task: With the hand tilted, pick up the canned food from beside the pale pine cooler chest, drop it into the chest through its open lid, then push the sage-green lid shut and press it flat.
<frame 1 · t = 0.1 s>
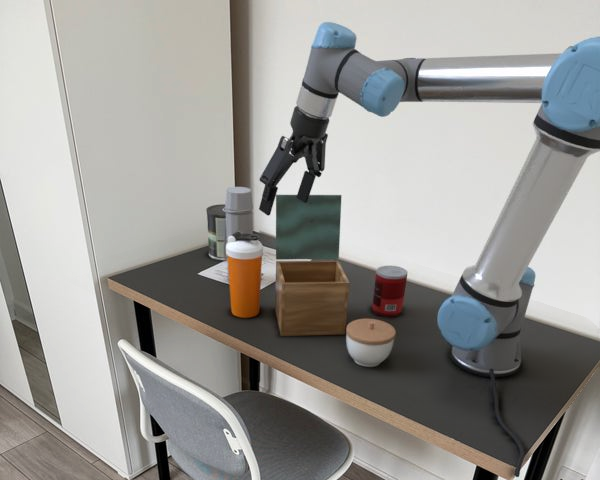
hand: (283, 205, 132), 28 cm above the table, tool tilted 20°, fingers open, 13 cm apart
shaker bottle: (245, 312, 150), on the table
canned food: (386, 311, 154), on the table
trinket box: (367, 360, 132), on the table
chest lid: (308, 227, 141), point 21 cm above the table, hinge at 100.0°
chest: (308, 322, 146), on the table
water bottle: (237, 280, 167), on the table
coffee can: (225, 255, 183), on the table
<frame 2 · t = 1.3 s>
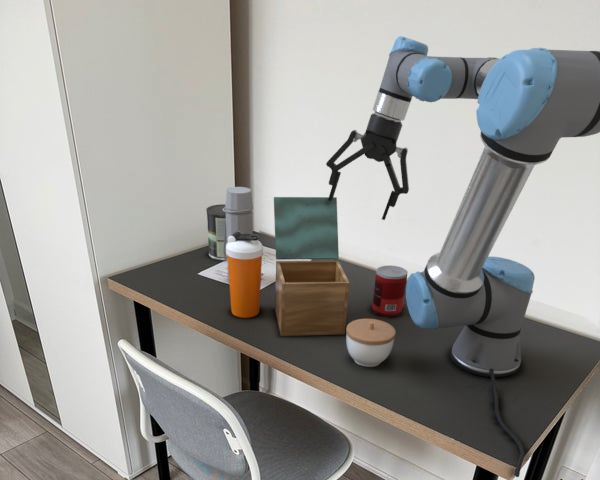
hand: (356, 209, 143), 25 cm above the table, tool pointing down, fingers open, 13 cm apart
chest lid: (306, 228, 144), point 20 cm above the table, hinge at 122.5°, touching gripper
everything else where it was.
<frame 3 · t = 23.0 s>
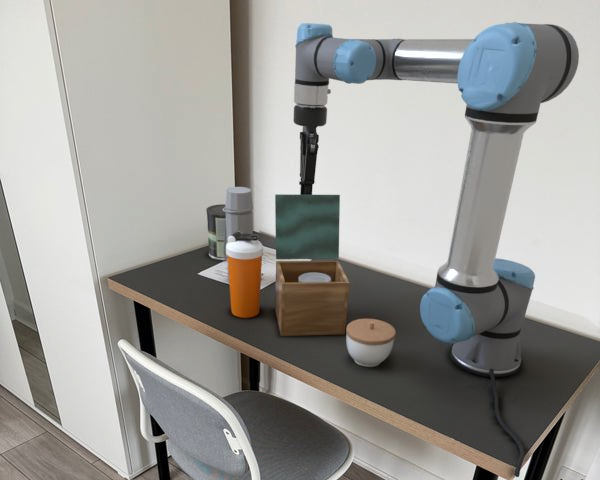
hand: (305, 210, 145), 24 cm above the table, tool pointing down, fingers closed
canned food: (312, 320, 146), point 1 cm above the table, touching chest
chest lid: (307, 227, 142), point 21 cm above the table, hinge at 107.6°, touching gripper
everything else where it was.
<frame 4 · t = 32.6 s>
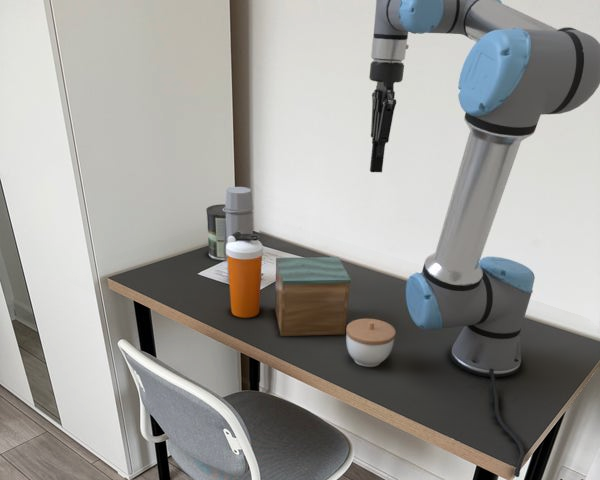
hand: (375, 171, 144), 32 cm above the table, tool pointing down, fingers closed
chest lid: (312, 269, 138), point 14 cm above the table, hinge at 1.1°
everything else where it was.
at the end: canned food inside the target area in the chest (0.9 cm from its centre), point 0.6 cm above the chest's base; chest lid at +1° (first picture: +100°) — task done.
